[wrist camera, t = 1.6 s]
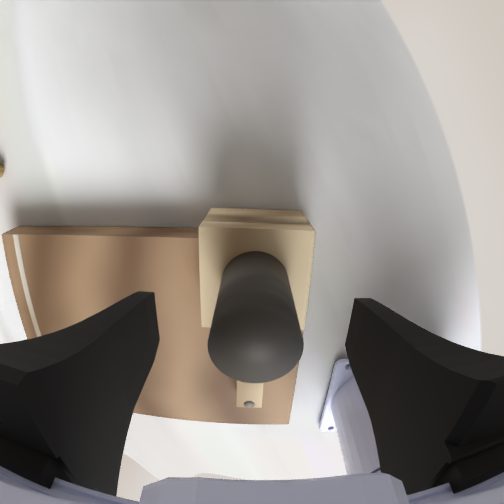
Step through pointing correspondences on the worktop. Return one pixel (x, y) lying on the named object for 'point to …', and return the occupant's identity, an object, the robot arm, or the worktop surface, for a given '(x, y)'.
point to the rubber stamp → (254, 293)
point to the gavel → (1, 171)
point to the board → (122, 285)
